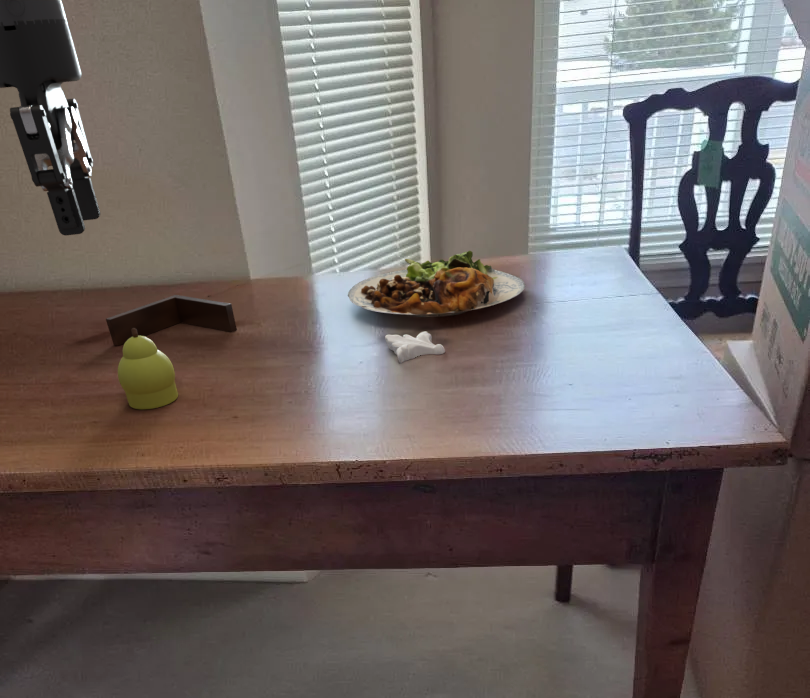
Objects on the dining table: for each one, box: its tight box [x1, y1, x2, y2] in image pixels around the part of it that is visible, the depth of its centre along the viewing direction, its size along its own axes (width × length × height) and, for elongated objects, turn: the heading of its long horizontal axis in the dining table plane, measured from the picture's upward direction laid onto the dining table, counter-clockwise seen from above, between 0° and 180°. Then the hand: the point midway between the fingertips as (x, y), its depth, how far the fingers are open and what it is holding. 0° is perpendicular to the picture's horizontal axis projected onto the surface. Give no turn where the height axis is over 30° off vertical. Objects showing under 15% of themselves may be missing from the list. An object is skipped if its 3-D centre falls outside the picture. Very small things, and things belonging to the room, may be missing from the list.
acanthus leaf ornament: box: [384, 331, 446, 364], centre depth 98 cm, size 8×7×2 cm
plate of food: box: [347, 250, 526, 318], centre depth 115 cm, size 28×28×6 cm
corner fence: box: [105, 294, 237, 346], centre depth 110 cm, size 13×13×4 cm
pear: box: [117, 328, 179, 410], centre depth 88 cm, size 7×7×9 cm
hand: (82, 226), depth 71 cm, fingers open, 7 cm apart
